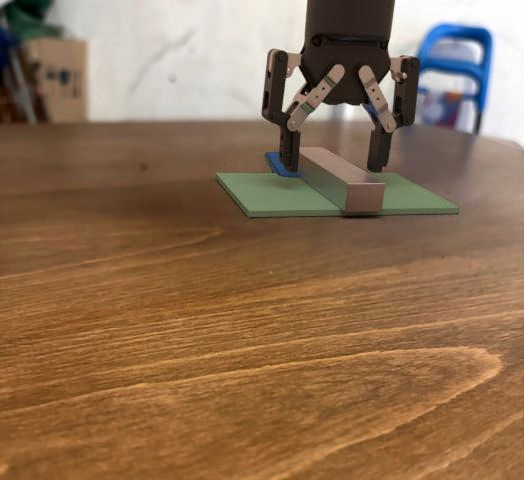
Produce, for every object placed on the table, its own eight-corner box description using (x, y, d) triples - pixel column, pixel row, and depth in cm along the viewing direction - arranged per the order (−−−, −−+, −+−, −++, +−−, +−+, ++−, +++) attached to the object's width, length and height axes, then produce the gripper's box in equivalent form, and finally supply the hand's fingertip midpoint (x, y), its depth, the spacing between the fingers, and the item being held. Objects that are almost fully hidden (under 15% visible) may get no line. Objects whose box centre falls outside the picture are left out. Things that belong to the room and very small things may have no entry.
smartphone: (322, 153, 82) (349, 178, 69) (322, 161, 83) (348, 187, 69) (263, 151, 81) (278, 176, 68) (263, 159, 82) (277, 185, 68)
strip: (289, 170, 71) (291, 146, 70) (320, 170, 72) (323, 147, 71) (344, 212, 57) (348, 183, 56) (382, 211, 58) (386, 183, 57)
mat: (394, 178, 73) (394, 172, 73) (458, 213, 61) (459, 207, 61) (215, 178, 68) (215, 172, 68) (248, 217, 56) (248, 210, 56)
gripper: (285, -30, 51) (272, 181, 59) (450, -17, 55) (418, 180, 62) (260, -27, 58) (251, 162, 65) (409, -16, 61) (385, 163, 69)
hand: (333, 171), depth 64 cm, fingers open, 8 cm apart
